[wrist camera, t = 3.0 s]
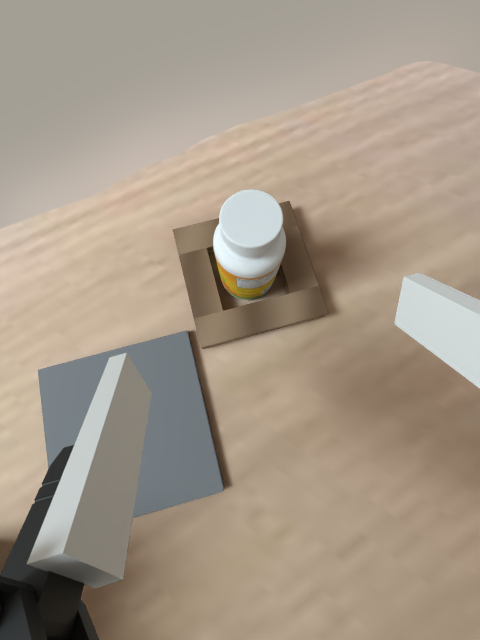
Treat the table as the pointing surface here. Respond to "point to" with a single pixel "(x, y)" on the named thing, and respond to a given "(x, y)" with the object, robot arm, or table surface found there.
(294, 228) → the socket block
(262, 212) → the supplement bottle
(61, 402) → the mat
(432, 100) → the table surface
